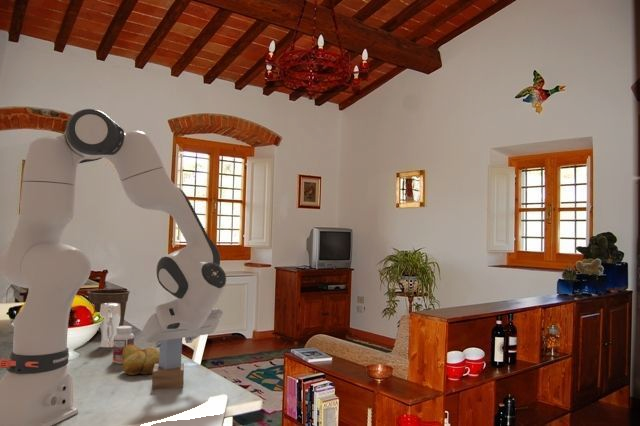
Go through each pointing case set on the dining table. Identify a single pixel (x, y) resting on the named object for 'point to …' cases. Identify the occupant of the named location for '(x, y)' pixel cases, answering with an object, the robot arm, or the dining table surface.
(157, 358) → the bread roll
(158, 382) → the walnut block
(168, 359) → the slate block
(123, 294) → the plant pot
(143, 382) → the dining table surface
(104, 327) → the beer glass
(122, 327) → the pill bottle
